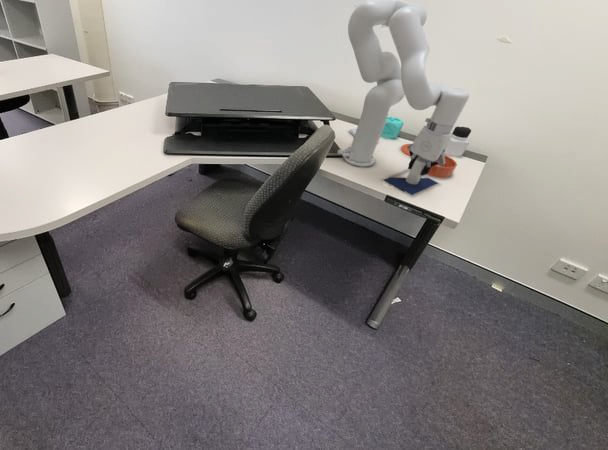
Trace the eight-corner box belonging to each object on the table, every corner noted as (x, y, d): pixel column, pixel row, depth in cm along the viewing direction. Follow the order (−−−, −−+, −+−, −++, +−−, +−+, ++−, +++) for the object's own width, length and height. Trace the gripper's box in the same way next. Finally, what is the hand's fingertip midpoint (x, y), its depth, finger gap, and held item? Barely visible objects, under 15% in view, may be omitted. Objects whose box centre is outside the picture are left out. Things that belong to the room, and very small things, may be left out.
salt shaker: (408, 184, 127) (420, 161, 121) (403, 178, 131) (414, 155, 124) (420, 184, 127) (432, 161, 121) (414, 178, 131) (426, 155, 124)
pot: (426, 178, 132) (432, 168, 129) (412, 162, 141) (417, 152, 138) (456, 179, 132) (463, 168, 129) (440, 163, 141) (446, 153, 138)
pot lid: (408, 160, 143) (414, 148, 139) (395, 145, 153) (400, 134, 149) (438, 160, 143) (445, 149, 139) (423, 146, 153) (429, 135, 149)
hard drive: (350, 128, 162) (362, 140, 153) (365, 128, 163) (378, 139, 154) (349, 131, 163) (361, 143, 154) (364, 131, 164) (377, 142, 155)
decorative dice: (393, 141, 156) (400, 125, 151) (376, 136, 160) (382, 120, 155) (398, 135, 161) (405, 119, 156) (381, 130, 165) (387, 115, 160)
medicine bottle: (461, 157, 146) (476, 132, 138) (444, 155, 147) (458, 130, 139) (455, 149, 151) (469, 125, 143) (438, 148, 152) (452, 123, 144)
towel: (411, 195, 122) (411, 195, 122) (384, 180, 130) (384, 179, 130) (437, 183, 129) (438, 183, 129) (410, 169, 137) (410, 168, 136)
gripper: (411, 119, 118) (391, 163, 130) (457, 138, 107) (431, 184, 119) (423, 115, 121) (403, 159, 133) (470, 133, 110) (443, 179, 122)
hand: (417, 171), depth 126 cm, fingers closed on salt shaker, 4 cm apart
